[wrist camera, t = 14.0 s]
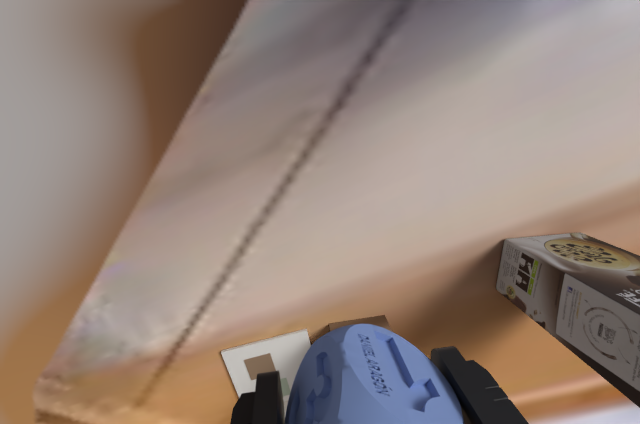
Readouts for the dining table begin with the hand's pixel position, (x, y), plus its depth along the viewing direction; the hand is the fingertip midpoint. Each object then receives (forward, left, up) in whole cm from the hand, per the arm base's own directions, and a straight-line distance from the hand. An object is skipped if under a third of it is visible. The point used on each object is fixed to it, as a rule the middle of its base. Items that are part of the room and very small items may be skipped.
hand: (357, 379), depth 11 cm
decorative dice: (0, 0, -1) cm, 1 cm away
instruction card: (+19, -5, -19) cm, 27 cm away
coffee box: (+8, +24, -19) cm, 32 cm away
